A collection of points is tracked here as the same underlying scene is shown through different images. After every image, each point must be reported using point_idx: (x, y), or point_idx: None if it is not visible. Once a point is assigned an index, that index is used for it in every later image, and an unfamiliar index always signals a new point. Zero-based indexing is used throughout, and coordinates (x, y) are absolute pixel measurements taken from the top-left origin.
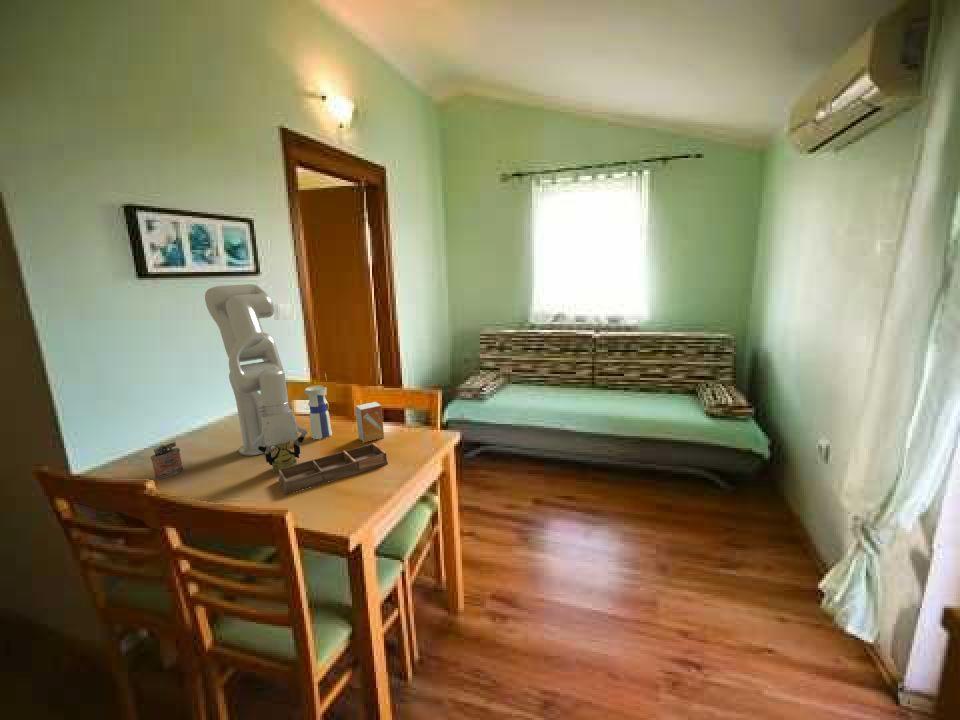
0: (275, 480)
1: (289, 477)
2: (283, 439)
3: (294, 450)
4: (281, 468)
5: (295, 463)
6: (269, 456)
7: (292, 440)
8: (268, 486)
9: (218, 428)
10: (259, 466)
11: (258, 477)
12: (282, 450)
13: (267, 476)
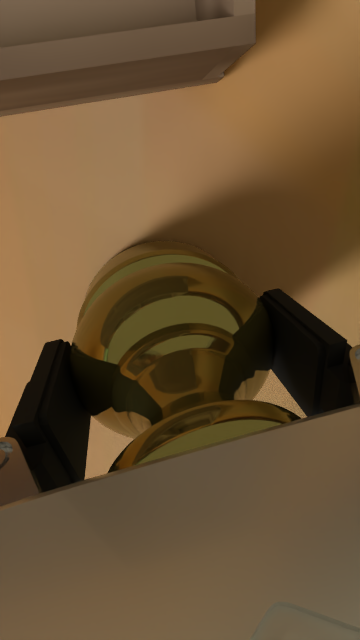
0: (238, 120)
1: (127, 24)
2: (229, 541)
3: (81, 421)
4: (216, 43)
5: (85, 300)
6: (321, 325)
7: (16, 510)
8: (305, 5)
9: None
10: (283, 390)
11: (319, 251)
12: (198, 384)
13: (274, 237)
